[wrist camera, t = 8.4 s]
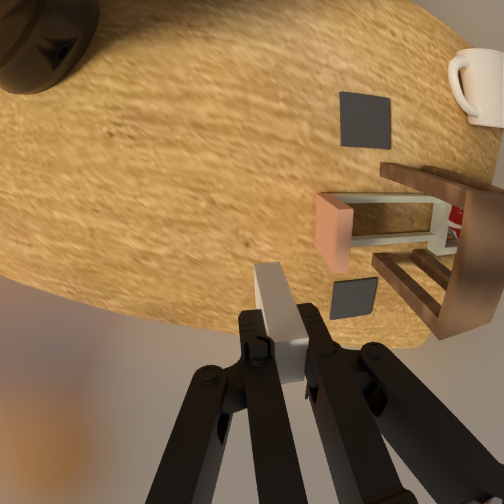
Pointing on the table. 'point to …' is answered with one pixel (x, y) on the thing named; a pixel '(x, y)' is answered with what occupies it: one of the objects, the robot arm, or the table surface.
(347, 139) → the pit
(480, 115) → the mug
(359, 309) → the dark grey flat tile
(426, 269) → the brown tall open frame
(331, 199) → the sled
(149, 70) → the table surface
